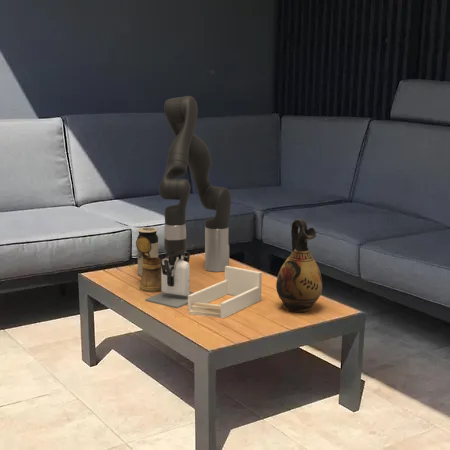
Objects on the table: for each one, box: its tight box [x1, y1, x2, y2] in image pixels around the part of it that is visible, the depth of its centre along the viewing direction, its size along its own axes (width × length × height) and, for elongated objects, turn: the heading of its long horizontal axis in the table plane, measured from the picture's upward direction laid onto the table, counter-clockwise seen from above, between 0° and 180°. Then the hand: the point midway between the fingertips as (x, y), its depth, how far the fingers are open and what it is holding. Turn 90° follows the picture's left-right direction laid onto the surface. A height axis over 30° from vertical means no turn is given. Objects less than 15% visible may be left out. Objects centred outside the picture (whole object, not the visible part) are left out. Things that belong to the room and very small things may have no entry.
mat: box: [144, 291, 195, 309], centre depth 250 cm, size 16×14×1 cm
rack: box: [187, 265, 263, 319], centre depth 243 cm, size 23×14×10 cm, turn 145°
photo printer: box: [161, 259, 191, 296], centre depth 249 cm, size 10×4×12 cm, turn 68°
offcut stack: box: [188, 302, 221, 318], centre depth 235 cm, size 5×11×3 cm, turn 75°
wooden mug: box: [135, 236, 162, 293], centre depth 261 cm, size 9×14×18 cm, turn 33°
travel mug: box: [136, 227, 159, 277], centre depth 277 cm, size 8×8×18 cm
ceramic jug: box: [275, 218, 323, 313], centre depth 239 cm, size 17×15×30 cm
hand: (175, 283), depth 249 cm, fingers closed on photo printer, 4 cm apart
